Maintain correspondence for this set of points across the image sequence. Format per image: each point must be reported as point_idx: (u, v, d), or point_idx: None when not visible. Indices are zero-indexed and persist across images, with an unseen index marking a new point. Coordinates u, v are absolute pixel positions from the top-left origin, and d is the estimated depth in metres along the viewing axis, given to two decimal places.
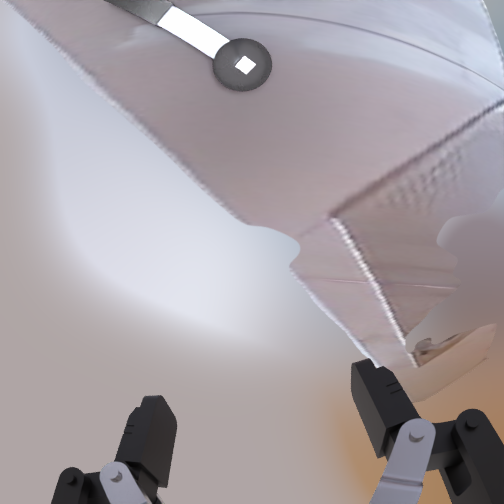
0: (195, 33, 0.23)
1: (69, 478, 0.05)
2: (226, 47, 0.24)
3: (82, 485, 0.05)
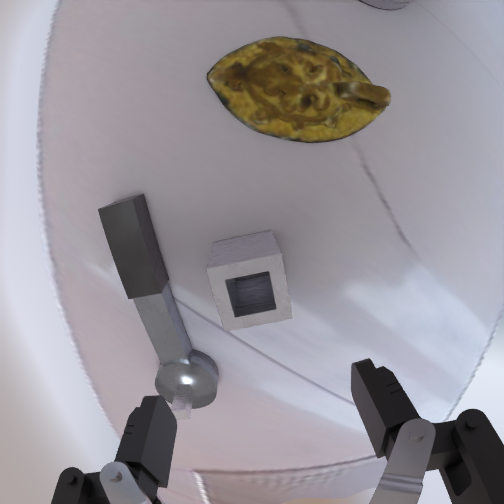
0: (162, 336, 0.24)
1: (69, 478, 0.05)
2: (181, 370, 0.25)
3: (82, 485, 0.05)
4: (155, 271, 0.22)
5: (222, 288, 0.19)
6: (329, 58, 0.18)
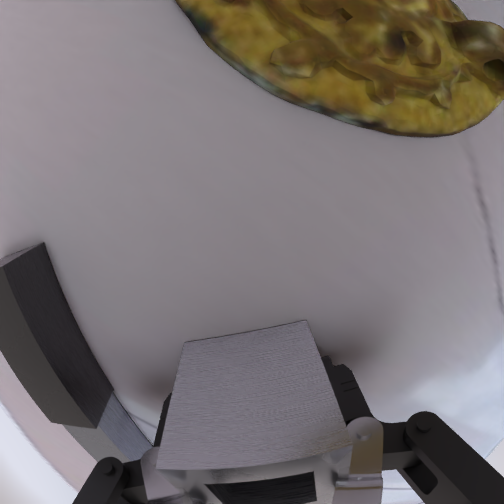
0: None
1: (106, 468, 0.06)
2: None
3: (121, 474, 0.06)
4: (77, 398, 0.09)
5: (201, 491, 0.06)
6: None
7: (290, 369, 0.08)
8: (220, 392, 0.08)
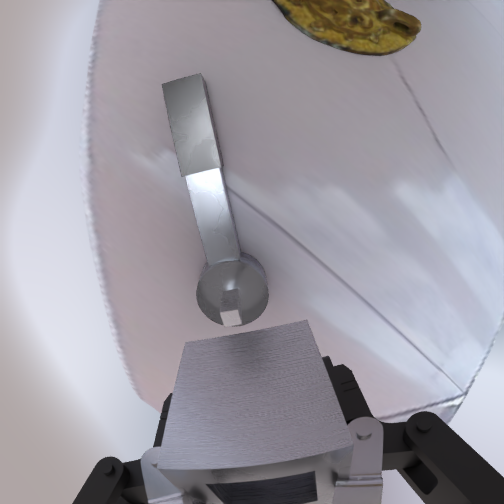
0: (213, 224, 0.23)
1: (106, 468, 0.06)
2: (231, 268, 0.24)
3: (121, 474, 0.06)
4: (216, 144, 0.21)
5: (202, 491, 0.06)
6: None
7: (291, 369, 0.08)
8: (221, 392, 0.08)
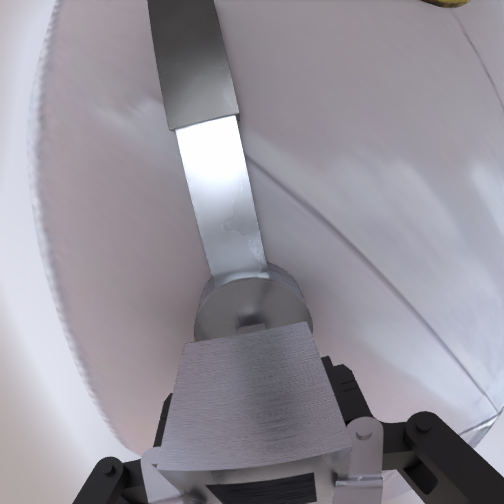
0: (224, 214, 0.13)
1: (106, 468, 0.06)
2: (253, 290, 0.14)
3: (121, 474, 0.06)
4: (231, 77, 0.11)
5: (201, 492, 0.06)
6: None
7: (290, 370, 0.08)
8: (220, 393, 0.08)
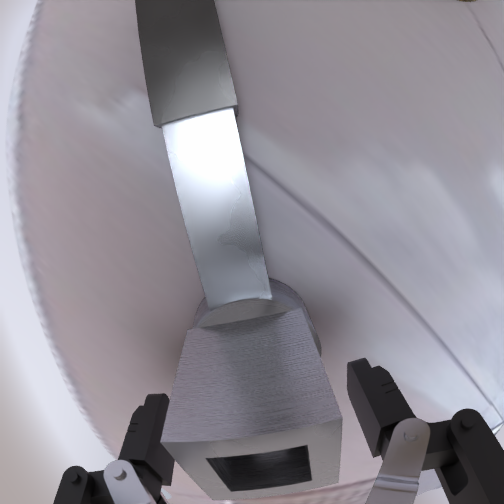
0: (219, 226, 0.11)
1: (73, 477, 0.06)
2: (254, 314, 0.12)
3: (86, 484, 0.06)
4: (228, 63, 0.09)
5: (202, 467, 0.07)
6: None
7: (285, 351, 0.09)
8: (221, 372, 0.09)
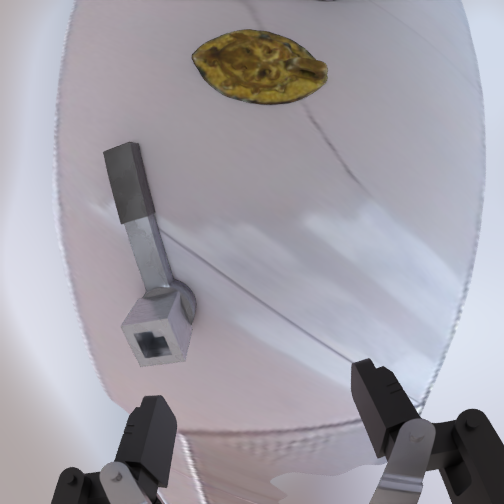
0: (147, 259, 0.29)
1: (69, 478, 0.05)
2: (161, 292, 0.30)
3: (82, 485, 0.05)
4: (144, 198, 0.27)
5: (133, 339, 0.25)
6: (282, 43, 0.24)
7: (164, 303, 0.27)
8: (143, 309, 0.27)
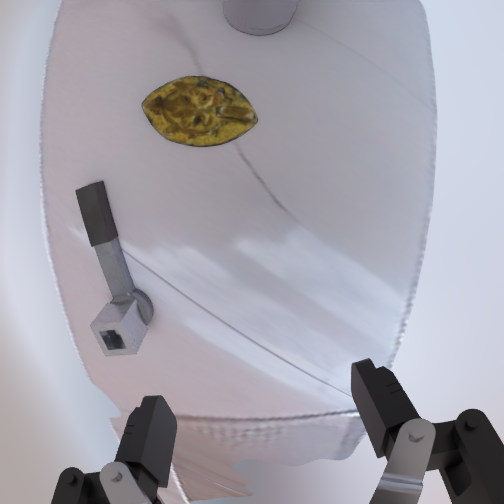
0: (112, 273, 0.36)
1: (69, 478, 0.05)
2: (123, 299, 0.36)
3: (82, 485, 0.05)
4: (107, 228, 0.34)
5: (99, 335, 0.31)
6: (217, 89, 0.30)
7: (123, 309, 0.34)
8: (107, 313, 0.34)
